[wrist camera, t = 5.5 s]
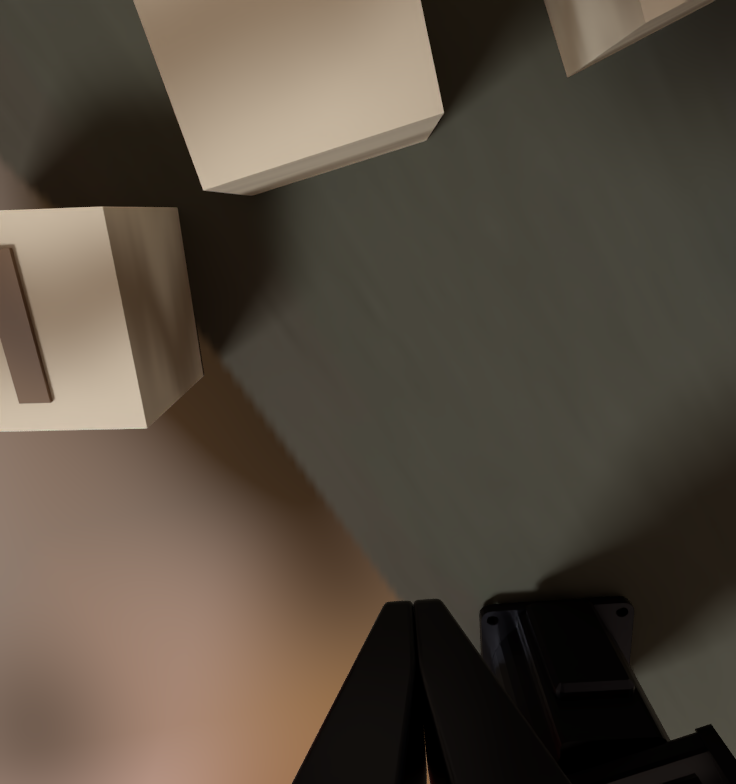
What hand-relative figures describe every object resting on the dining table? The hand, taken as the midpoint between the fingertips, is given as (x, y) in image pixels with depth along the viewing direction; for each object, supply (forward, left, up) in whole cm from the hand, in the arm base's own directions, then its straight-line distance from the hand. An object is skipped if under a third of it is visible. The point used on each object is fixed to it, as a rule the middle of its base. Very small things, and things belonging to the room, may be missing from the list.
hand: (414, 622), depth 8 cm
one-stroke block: (+4, +10, -12) cm, 16 cm away
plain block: (+10, +2, -12) cm, 16 cm away
